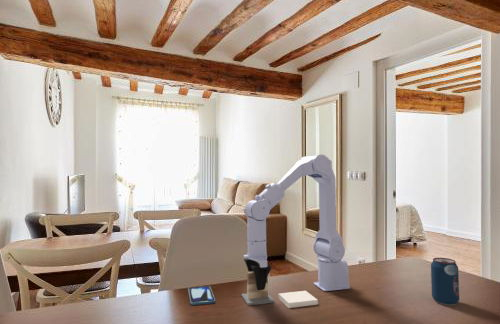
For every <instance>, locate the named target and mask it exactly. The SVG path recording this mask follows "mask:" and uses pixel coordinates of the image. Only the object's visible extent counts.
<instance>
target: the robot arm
mask: <svg viewBox="0 0 500 324" xmlns="http://www.w3.org/2000/svg"><path fill="white" fill-rule="evenodd" d="M332 163H333V162H332V160H331V159H330V158H329V157H328V156H326V155H325V154H317V155H304V156H302V157H301V158H300V160H298V161H296V162H295V164H294V165H293V166H292V167H291V168H290V169H289V170H288V172H286V173H285V175H283V176H282V178H281V179H280V180H279V181H277V183H275V182H274V183H273V182H271V183H267V184H266V185H265V186H264V187H265V188H264V189H263V190H262V191H261V192H260V193H259V194H256V195H255V196H254V199H251V200H249V201H248V202H247V203H246V204H245V207H244V208H243V214H244V215H245V216H246V218H247V219H246V220H247V223H246V230H247V232H246V235H247V241H246V242H247V243H246V244H247V247H246V248H247V254H243V261H244V262H245V266H246V268H247V272H252V271H253V272H254V275H255V281H256V287H257V290H264V289H265V286H266V281H267V277H268V276H269V274H270V272H271V270H272V266H271V265H269V264H268V260H267V259H268V254H267V218H268V217H269V216H270V213H271V212H270V211H271V210H272V209H273V208H274V207H275V206H276V205H277V204H279V202H280V201H281V200H282V199H283V198H284V197H285V191H287V190H288V188H290V187H291V186H292V185H293V184H295V183H296V182H297V181H299V180H300V179H301V178H302V177H306V176H309V178H313V180H314V181H315V182H316V183H317V184H318V204H319V205H318V207H319V210H318V212H319V213H318V214H319V230H318V231H317V232H316V234H315V240H314V242H313V251H314V253H315V254H316V258H317V275H318V276H317V278H318V279H317V280H318V281H314V282H313V285H315V286H316V287H317V288H319V289H320V290H321V291H323V292H329V291H330V292H331V291H340V290H349V289H351V286H350V275H349V273H350V272H349V271H350V270H349V265H348V262H347V261H346V259H344V256H345V252H346V250H345V249H346V248H345V245H344V244H343V243H344V242H343V237H342V236H341V234H340V233H339V232H338V230H337V193H336V192H337V189H336V188H337V187H336V175H335V173H334V170H333V165H332ZM268 278H269V277H268Z"/></svg>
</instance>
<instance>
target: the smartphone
mask: <svg viewBox="0 0 500 324" xmlns="http://www.w3.org/2000/svg"><path fill="white" fill-rule="evenodd" d="M187 289H188V290H187V291H188V296H189V298H188V299H189V304H190V305H191V306H197V305H209V304H215V303H216V298H215V295H214V293H213V290H212V288H211V286H210V285H204V286H203V285H201V286H200V285H199V286H190V287H188V288H187Z"/></svg>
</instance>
